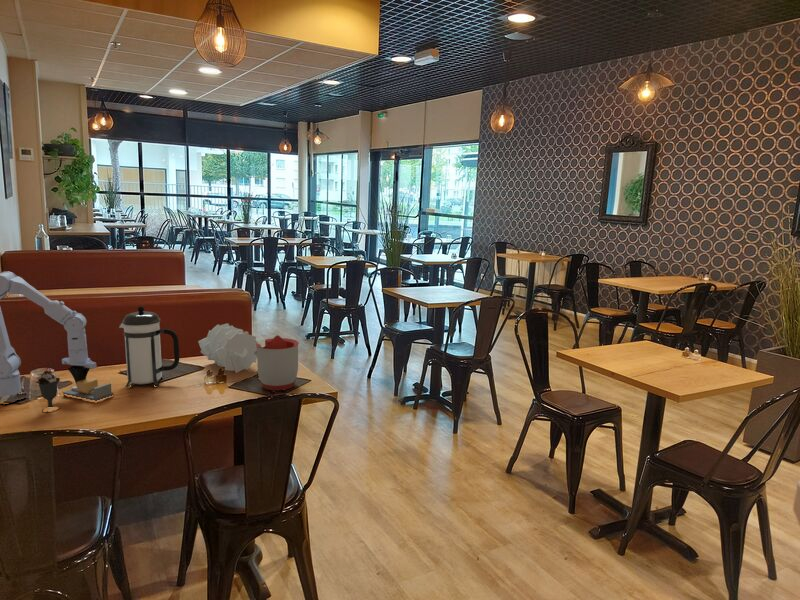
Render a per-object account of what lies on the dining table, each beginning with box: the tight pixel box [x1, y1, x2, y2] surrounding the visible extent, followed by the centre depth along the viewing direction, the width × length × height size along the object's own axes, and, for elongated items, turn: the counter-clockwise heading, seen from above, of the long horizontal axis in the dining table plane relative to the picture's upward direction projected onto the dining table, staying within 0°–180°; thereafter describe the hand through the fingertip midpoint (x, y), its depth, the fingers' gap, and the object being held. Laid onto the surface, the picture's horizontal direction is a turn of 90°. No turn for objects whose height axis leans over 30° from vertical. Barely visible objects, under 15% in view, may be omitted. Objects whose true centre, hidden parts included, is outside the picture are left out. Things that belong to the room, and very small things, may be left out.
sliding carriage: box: [76, 377, 99, 394], centre depth 197 cm, size 4×5×4 cm
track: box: [62, 382, 115, 401], centre depth 197 cm, size 16×7×5 cm, turn 68°
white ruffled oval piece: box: [197, 323, 259, 374], centre depth 234 cm, size 18×18×25 cm
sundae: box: [35, 364, 61, 407], centre depth 184 cm, size 7×7×15 cm
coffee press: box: [119, 305, 180, 388], centre depth 210 cm, size 17×16×30 cm
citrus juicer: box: [254, 334, 300, 391], centre depth 211 cm, size 16×17×20 cm
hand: (80, 385), depth 198 cm, fingers closed
